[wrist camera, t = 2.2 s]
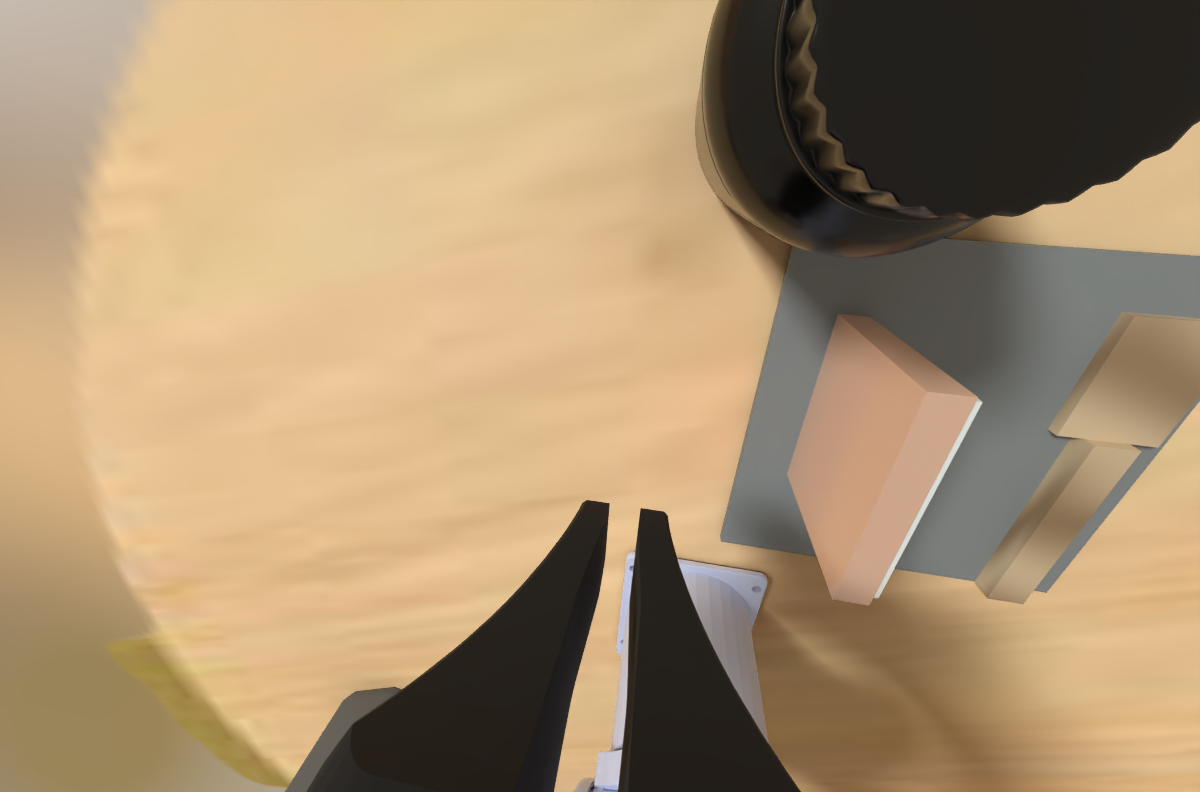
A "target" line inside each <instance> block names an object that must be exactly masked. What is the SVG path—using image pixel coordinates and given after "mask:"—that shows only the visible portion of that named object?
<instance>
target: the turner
mask: <svg viewBox="0 0 1200 792" xmlns="http://www.w3.org/2000/svg"><path fill="white" fill-rule="evenodd" d="M1199 396H1200V319H1199V318H1188V317H1176V316H1164V315H1152V314H1140V313H1129V312H1122V313H1121V314H1120V316H1119V317H1118V319H1117V321H1116V322H1115V324H1114V325H1113V327H1112V328H1111V330H1110V332H1109V333H1108V335H1107V336H1106V338H1105V339H1104V341H1103V343H1102V344H1101V346H1100V347H1099V349H1098V351H1097V352H1096V354H1095V355H1094V357H1093V358H1092V360H1091V362H1090V363H1089V365H1088V366H1087V368H1086V369H1085V371H1084V373H1083V374H1082V376H1081V377H1080V379H1079V381H1078V382H1077V384H1076V385H1075V387H1074V388H1073V390H1072V392H1071V393H1070V395H1069V396H1068V398H1067V400H1066V401H1065V403H1064V404H1063V406H1062V407H1061V409H1060V411H1059V412H1058V414H1057V415H1056V417H1055V418H1054V420H1053V422H1052V423H1051V425H1050V426H1049V428H1048V430H1049V431H1051V432H1052V433H1054V434H1055V435H1057V436H1063V437H1071V438H1070V440H1069V441H1068V443H1067V444H1066V446H1065V447H1064V449H1063V450H1062V452H1061V453H1060V455H1059V456H1058V458H1057V459H1056V461H1055V462H1054V464H1053V465H1052V467H1051V468H1050V470H1049V471H1048V473H1047V474H1046V476H1045V477H1044V479H1043V480H1042V482H1041V483H1040V485H1039V486H1038V488H1037V489H1036V491H1035V492H1034V494H1033V495H1032V497H1031V498H1030V500H1029V501H1028V503H1027V504H1026V506H1025V507H1024V509H1023V510H1022V512H1021V513H1020V515H1019V516H1018V518H1017V519H1016V521H1015V522H1014V524H1013V525H1012V526H1011V528H1010V529H1009V531H1008V532H1007V534H1006V535H1005V537H1004V538H1003V540H1002V541H1001V543H1000V544H999V546H998V547H997V549H996V550H995V552H994V553H993V555H992V556H991V558H990V559H989V561H988V562H987V564H986V565H985V567H984V568H983V570H982V571H981V573H980V574H979V576H978V577H977V579H976V580H975V582H976V584H977V585H978V586H979V588H980V589H981V591H982V592H983V593H984V595H985V596H986V597H987V598H988V599H995V600H1001V601H1007V602H1013V603H1019V604H1024V602H1025V601H1026V600H1027V598H1028V597H1029V596H1030V595H1031V593H1032V592H1033V591H1034V589H1035V588H1036V587H1037V586H1038V584H1039V583H1040V582H1041V580H1042V579H1043V578H1044V577H1045V575H1046V574H1047V573H1048V571H1049V570H1050V569H1051V568H1052V566H1053V565H1054V564H1055V562H1056V561H1057V560H1058V559H1059V557H1060V556H1061V555H1062V553H1063V552H1064V551H1065V550H1066V548H1067V547H1068V546H1069V544H1070V543H1071V542H1072V540H1073V539H1074V538H1075V537H1076V535H1077V534H1078V533H1079V531H1080V530H1081V529H1082V528H1083V526H1084V525H1085V524H1086V522H1087V521H1088V520H1089V519H1090V517H1091V516H1092V515H1093V513H1094V512H1095V511H1096V510H1097V508H1098V507H1099V506H1100V504H1101V503H1102V502H1103V501H1104V499H1105V498H1106V497H1107V495H1108V494H1109V493H1110V491H1111V490H1112V489H1113V488H1114V486H1115V485H1116V484H1117V482H1118V481H1119V480H1120V479H1121V477H1122V476H1123V475H1124V473H1125V472H1126V471H1127V470H1128V468H1129V467H1130V466H1131V464H1132V463H1133V462H1134V461H1135V459H1136V458H1137V457H1138V455H1139V454H1140V453H1141V452H1142V451H1140V450H1138V449H1137V448H1135V447H1133V446H1132V445H1140V446H1149V447H1157V448H1159V446H1160V445H1161V444H1162V443H1163V441H1164V440H1165V439H1166V437H1167V436H1168V435H1169V434H1170V432H1171V431H1172V430H1173V429H1174V427H1175V426H1176V425H1177V424H1178V422H1179V421H1180V420H1181V419H1182V417H1183V416H1184V415H1185V414H1186V412H1187V411H1188V410H1189V408H1190V407H1191V406H1192V405H1193V403H1194V402H1195V401H1196V400H1197V398H1198V397H1199ZM1130 444H1132V445H1130Z"/></svg>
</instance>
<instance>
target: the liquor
mask: <svg viewBox="0 0 1200 792" xmlns="http://www.w3.org/2000/svg"><path fill="white" fill-rule="evenodd" d="M399 691H400V689H398V688H395V687H391V688H383V689H374V690H365V691H356V692H354V693H353V694H351V695H350V696H349V697H347V698H346V699H344V700H343V702H342V703H341V705H340V706H339V708H338V709H337V711H336V713H335V714H334V716H333V717H332V719H331V720H330V722H329V724H328V725H327V727H326V728H325V730H324V731H323V733H322V735H321V736H320V738H319V739H318V741H317V742H316V744H315V746H314V747H313V749H312V750H311V752H310V753H309V755H308V756H307V758H306V760H305V761H304V763H303V764H302V766H301V767H300V769H299V771H298V772H297V774H296V775H295V777H294V778H293V780H292V782H291V783H290V785H289V786H288V788H287V789H286V791H285V792H306V791H307V790H308V788H309V786H310V785H311V783H312V781H313V780H314V778H315V776H316V775H317V773H318V771H319V770H320V768H321V766H322V765H323V763H324V762H325V760H326V759H327V758H328V756H329V755H330V754H331V752H332V751H333V750H334V748H335V747H336V745H337V744H338V743H339V741H340V740H341V738H342V737H343V736H344V734H345V733H346V732H347V730H348V729H349V728H350V726H351V725H352V724H353V723H354V722H355V721H357V720H358V719H360V718H361V717H363V716H364V715H366V714H367V713H369V712H370V711H371V710H373V709H374V708H376V707H377V706H379V705H380V704H382V703H383V702H385V701H386V700H387V699H389V698H390V697H392V696H393V695H395V694H396V693H398V692H399Z"/></svg>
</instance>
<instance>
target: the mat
mask: <svg viewBox="0 0 1200 792" xmlns="http://www.w3.org/2000/svg"><path fill="white" fill-rule="evenodd" d="M1122 312H1129V313H1140V314H1152V315H1164V316H1176V317H1188V318H1199V319H1200V256H1189V255H1175V254H1160V253H1146V252H1132V251H1117V250H1103V249H1089V248H1074V247H1060V246H1045V245H1031V244H1017V243H1002V242H988V241H974V240H959V239H945V238H944V239H941V240H939V241H936V242H934V243H931V244H928V245H925V246H922V247H919V248H916V249H913V250H908V251H904V252H900V253H896V254H890V255H884V256H877V257H862V258H849V257H835V256H828V255H822V254H818V253H814V252H810V251H806V250H803V249H800V248H797V247H794V246H792V249H791V253H790V257H789V261H788V265H787V269H786V273H785V277H784V281H783V285H782V289H781V293H780V297H779V301H778V305H777V309H776V313H775V317H774V321H773V325H772V329H771V333H770V338H769V342H768V346H767V350H766V354H765V358H764V362H763V366H762V370H761V374H760V378H759V382H758V386H757V390H756V394H755V398H754V402H753V406H752V410H751V414H750V418H749V422H748V426H747V430H746V434H745V439H744V443H743V447H742V451H741V455H740V459H739V463H738V467H737V471H736V475H735V479H734V483H733V487H732V491H731V495H730V499H729V503H728V507H727V511H726V515H725V519H724V523H723V527H722V531H721V535H720V537H721V542H728V543H734V544H740V545H747V546H753V547H759V548H766V549H772V550H779V551H785V552H791V553H798V554H804V555H810V556H816V553H815V550H814V548H813V545H812V542H811V539H810V537H809V534H808V531H807V528H806V525H805V523H804V520H803V517H802V514H801V512H800V509H799V506H798V503H797V500H796V498H795V495H794V492H793V489H792V487H791V484H790V481H789V478H788V476H787V472H788V469H789V466H790V463H791V460H792V457H793V454H794V450H795V447H796V444H797V441H798V438H799V435H800V432H801V428H802V425H803V422H804V419H805V416H806V413H807V409H808V406H809V403H810V400H811V397H812V394H813V391H814V387H815V384H816V381H817V378H818V375H819V372H820V369H821V365H822V362H823V359H824V356H825V353H826V350H827V346H828V343H829V340H830V337H831V334H832V331H833V328H834V324H835V321H836V318H837V315H838V314H847V315H858V316H869V317H871V318H872V319H874V320H875V321H876V322H878V323H879V324H881V325H882V326H883V327H885V328H886V329H887V330H889V331H890V332H891V333H893V334H894V335H895V336H897V337H898V338H899V339H901V340H902V341H903V342H905V343H906V344H907V345H909V346H910V347H911V348H913V349H914V350H915V351H917V352H918V353H919V354H921V355H922V356H923V357H925V358H926V359H927V360H929V361H930V362H932V363H933V364H934V365H936V366H937V367H938V368H940V369H941V370H942V371H944V372H945V373H946V374H948V375H949V376H950V377H952V378H953V379H954V380H956V381H957V382H958V383H960V384H961V385H962V386H964V387H965V388H966V389H968V390H969V391H970V392H972V393H973V394H974V395H976V396H977V397H978V399H979V400H981V401H982V402H983V403H982V404H981V406H980V408H979V410H978V412H977V414H976V416H975V418H974V420H973V421H972V423H971V425H970V427H969V429H968V431H967V433H966V435H965V436H964V438H963V440H962V442H961V444H960V446H959V448H958V450H957V452H956V453H955V455H954V457H953V459H952V461H951V463H950V465H949V467H948V468H947V470H946V472H945V474H944V476H943V478H942V480H941V482H940V483H939V485H938V487H937V489H936V491H935V493H934V495H933V497H932V499H931V500H930V502H929V504H928V506H927V508H926V510H925V512H924V514H923V515H922V517H921V519H920V521H919V523H918V525H917V527H916V529H915V531H914V532H913V534H912V536H911V538H910V540H909V542H908V544H907V546H906V547H905V549H904V551H903V553H902V555H901V557H900V559H899V561H898V563H897V564H896V566H895V568H894V569H900V570H906V571H912V572H919V573H925V574H931V575H938V576H944V577H950V578H957V579H963V580H970V581H975V580H976V579H977V577H978V576H979V574H980V573H981V571H982V570H983V568H984V567H985V565H986V564H987V562H988V561H989V559H990V558H991V556H992V555H993V553H994V552H995V550H996V549H997V547H998V546H999V544H1000V543H1001V541H1002V540H1003V538H1004V537H1005V535H1006V534H1007V532H1008V531H1009V529H1010V528H1011V526H1012V525H1013V524H1014V522H1015V521H1016V519H1017V518H1018V516H1019V515H1020V513H1021V512H1022V510H1023V509H1024V507H1025V506H1026V504H1027V503H1028V501H1029V500H1030V498H1031V497H1032V495H1033V494H1034V492H1035V491H1036V489H1037V488H1038V486H1039V485H1040V483H1041V482H1042V480H1043V479H1044V477H1045V476H1046V474H1047V473H1048V471H1049V470H1050V468H1051V467H1052V465H1053V464H1054V462H1055V461H1056V459H1057V458H1058V456H1059V455H1060V453H1061V452H1062V450H1063V449H1064V447H1065V446H1066V444H1067V443H1068V441H1069V440H1070V438H1071V437H1063V436H1057V435H1055V434H1054V433H1052V432H1051V431H1049V430H1048V428H1049V426H1050V425H1051V423H1052V422H1053V420H1054V418H1055V417H1056V415H1057V414H1058V412H1059V411H1060V409H1061V407H1062V406H1063V404H1064V403H1065V401H1066V400H1067V398H1068V396H1069V395H1070V393H1071V392H1072V390H1073V388H1074V387H1075V385H1076V384H1077V382H1078V381H1079V379H1080V377H1081V376H1082V374H1083V373H1084V371H1085V369H1086V368H1087V366H1088V365H1089V363H1090V362H1091V360H1092V358H1093V357H1094V355H1095V354H1096V352H1097V351H1098V349H1099V347H1100V346H1101V344H1102V343H1103V341H1104V339H1105V338H1106V336H1107V335H1108V333H1109V332H1110V330H1111V328H1112V327H1113V325H1114V324H1115V322H1116V321H1117V319H1118V317H1119V316H1120V314H1121V313H1122ZM1199 401H1200V396H1199V397H1198V398H1197V400H1196V401H1195V402H1194V403H1193V405H1192V406H1191V407H1190V408H1189V410H1188V411H1187V412H1186V414H1185V415H1184V416H1183V417H1182V419H1181V420H1180V421H1179V422H1178V424H1177V425H1176V426H1175V427H1174V429H1173V430H1172V431H1171V432H1170V434H1169V435H1168V436H1167V437H1166V439H1165V440H1164V441H1163V443H1162V444H1161V445H1160V446H1159V448H1157V447H1149V446H1140V445H1132V444H1130V445H1132V446H1133V447H1135V448H1137V449H1138V450H1140V451H1142V452H1141V453H1140V454H1139V455H1138V457H1137V458H1136V459H1135V461H1134V462H1133V463H1132V464H1131V466H1130V467H1129V468H1128V470H1127V471H1126V472H1125V473H1124V475H1123V476H1122V477H1121V479H1120V480H1119V481H1118V482H1117V484H1116V485H1115V486H1114V488H1113V489H1112V490H1111V491H1110V493H1109V494H1108V495H1107V497H1106V498H1105V499H1104V501H1103V502H1102V503H1101V504H1100V506H1099V507H1098V508H1097V510H1096V511H1095V512H1094V513H1093V515H1092V516H1091V517H1090V519H1089V520H1088V521H1087V522H1086V524H1085V525H1084V526H1083V528H1082V529H1081V530H1080V531H1079V533H1078V534H1077V535H1076V537H1075V538H1074V539H1073V540H1072V542H1071V543H1070V544H1069V546H1068V547H1067V548H1066V550H1065V551H1064V552H1063V553H1062V555H1061V556H1060V557H1059V559H1058V560H1057V561H1056V562H1055V564H1054V565H1053V566H1052V568H1051V569H1050V570H1049V571H1048V573H1047V574H1046V575H1045V577H1044V578H1043V579H1042V580H1041V582H1040V583H1039V584H1038V586H1037V587H1036V588H1035V589H1034V591H1040V592H1046V593H1047V591H1048V590H1049V589H1050V588H1051V586H1052V585H1053V584H1054V583H1055V581H1056V580H1057V579H1058V578H1059V576H1060V575H1061V574H1062V573H1063V571H1064V570H1065V569H1066V568H1067V566H1068V565H1069V564H1070V563H1071V561H1072V560H1073V559H1074V558H1075V556H1076V555H1077V554H1078V553H1079V551H1080V550H1081V549H1082V548H1083V546H1084V545H1085V544H1086V543H1087V541H1088V540H1089V539H1090V538H1091V536H1092V535H1093V534H1094V533H1095V531H1096V530H1097V529H1098V528H1099V526H1100V525H1101V524H1102V523H1103V521H1104V520H1105V519H1106V518H1107V516H1108V515H1109V514H1110V513H1111V511H1112V510H1113V509H1114V508H1115V506H1116V505H1117V504H1118V503H1119V501H1120V500H1121V499H1122V498H1123V496H1124V495H1125V494H1126V493H1127V491H1128V490H1129V489H1130V488H1131V486H1132V485H1133V484H1134V483H1135V481H1136V480H1137V479H1138V478H1139V476H1140V475H1141V474H1142V473H1143V471H1144V470H1145V469H1146V468H1147V466H1148V465H1149V464H1150V463H1151V461H1152V460H1153V459H1154V458H1155V456H1156V455H1157V454H1158V453H1159V451H1160V450H1161V449H1162V448H1163V446H1164V445H1165V444H1166V443H1167V441H1168V440H1169V439H1170V438H1171V436H1172V435H1173V434H1174V433H1175V431H1176V430H1177V429H1178V428H1179V426H1180V425H1181V424H1182V423H1183V421H1184V420H1185V419H1186V418H1187V416H1188V415H1189V414H1190V413H1191V411H1192V410H1193V409H1194V407H1195V406H1196V405H1197V404H1198V402H1199Z"/></svg>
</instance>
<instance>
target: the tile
mask: <svg viewBox="0 0 1200 792" xmlns="http://www.w3.org/2000/svg"><path fill="white" fill-rule="evenodd" d="M982 403H983V402H982V401H981V400H979V399H978V397H977V396H976V395H974V394H973V393H972V392H970V391H969V390H968V389H966V388H965V387H964V386H962V385H961V384H960V383H958V382H957V381H956V380H954V379H953V378H952V377H950V376H949V375H948V374H946V373H945V372H944V371H942V370H941V369H940V368H938V367H937V366H936V365H934V364H933V363H932V362H930V361H929V360H927V359H926V358H925V357H923V356H922V355H921V354H919V353H918V352H917V351H915V350H914V349H913V348H911V347H910V346H909V345H907V344H906V343H905V342H903V341H902V340H901V339H899V338H898V337H897V336H895V335H894V334H893V333H891V332H890V331H889V330H887V329H886V328H885V327H883V326H882V325H881V324H879V323H878V322H876V321H875V320H874V319H872V318H871V317H869V316H858V315H847V314H838V315H837V318H836V321H835V324H834V328H833V331H832V334H831V337H830V340H829V343H828V346H827V350H826V353H825V356H824V359H823V362H822V365H821V369H820V372H819V375H818V378H817V381H816V384H815V387H814V391H813V394H812V397H811V400H810V403H809V406H808V409H807V413H806V416H805V419H804V422H803V425H802V428H801V432H800V435H799V438H798V441H797V444H796V447H795V450H794V454H793V457H792V460H791V463H790V466H789V469H788V472H787V476H788V478H789V481H790V484H791V487H792V489H793V492H794V495H795V498H796V500H797V503H798V506H799V509H800V512H801V514H802V517H803V520H804V523H805V525H806V528H807V531H808V534H809V537H810V539H811V542H812V545H813V548H814V550H815V553H816V556H817V559H818V562H819V564H820V567H821V570H822V573H823V575H824V578H825V581H826V584H827V587H828V589H829V592H830V595H831V598H832V600H838V601H844V602H850V603H856V604H862V605H868V606H870V604H871V602H872V600H873V598H879V596H880V594H881V593H882V591H883V589H884V587H885V585H886V583H887V581H888V579H889V578H890V576H891V574H892V572H893V570H894V568H895V566H896V564H897V563H898V561H899V559H900V557H901V555H902V553H903V551H904V549H905V547H906V546H907V544H908V542H909V540H910V538H911V536H912V534H913V532H914V531H915V529H916V527H917V525H918V523H919V521H920V519H921V517H922V515H923V514H924V512H925V510H926V508H927V506H928V504H929V502H930V500H931V499H932V497H933V495H934V493H935V491H936V489H937V487H938V485H939V483H940V482H941V480H942V478H943V476H944V474H945V472H946V470H947V468H948V467H949V465H950V463H951V461H952V459H953V457H954V455H955V453H956V452H957V450H958V448H959V446H960V444H961V442H962V440H963V438H964V436H965V435H966V433H967V431H968V429H969V427H970V425H971V423H972V421H973V420H974V418H975V416H976V414H977V412H978V410H979V408H980V406H981V404H982Z"/></svg>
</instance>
